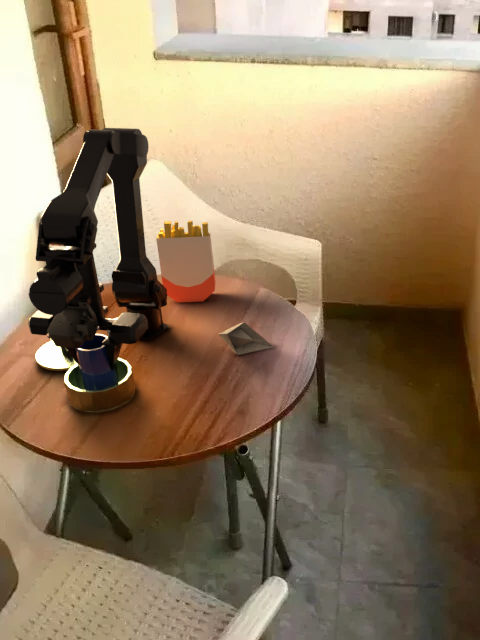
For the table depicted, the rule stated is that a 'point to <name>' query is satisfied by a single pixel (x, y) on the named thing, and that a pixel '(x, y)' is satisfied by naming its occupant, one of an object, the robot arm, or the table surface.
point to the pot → (100, 390)
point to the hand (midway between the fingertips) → (97, 367)
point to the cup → (95, 364)
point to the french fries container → (186, 262)
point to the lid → (54, 357)
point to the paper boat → (244, 339)
